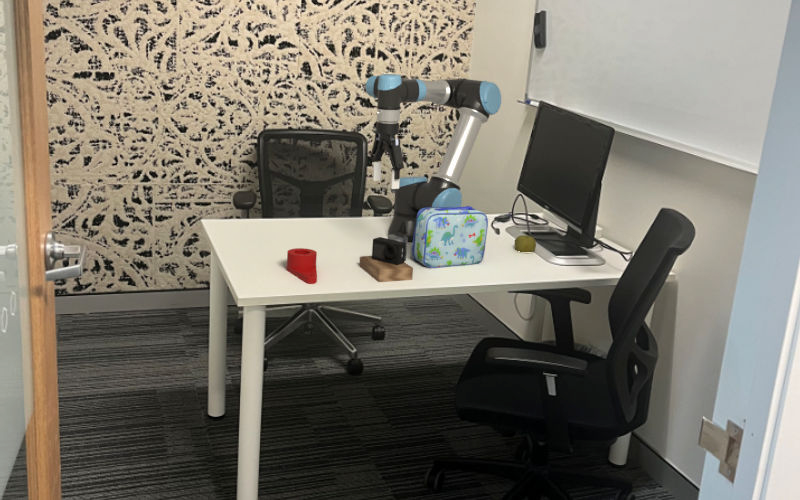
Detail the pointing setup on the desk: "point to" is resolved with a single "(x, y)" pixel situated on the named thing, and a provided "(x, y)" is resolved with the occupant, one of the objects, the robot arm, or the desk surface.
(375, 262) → the walnut riser
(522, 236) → the olive rounded block
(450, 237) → the lunch box
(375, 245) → the digital camera
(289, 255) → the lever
